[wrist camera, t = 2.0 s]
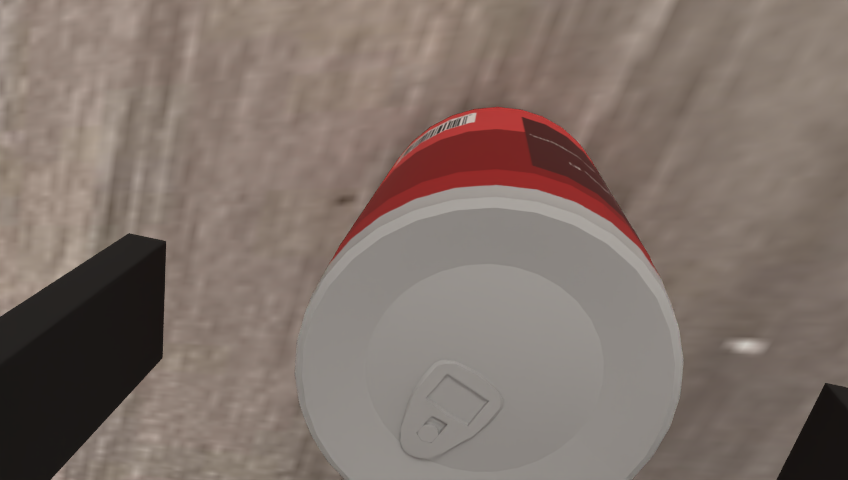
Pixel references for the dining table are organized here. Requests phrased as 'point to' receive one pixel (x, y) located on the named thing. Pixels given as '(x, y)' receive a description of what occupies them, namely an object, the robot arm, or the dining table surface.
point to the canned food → (490, 318)
